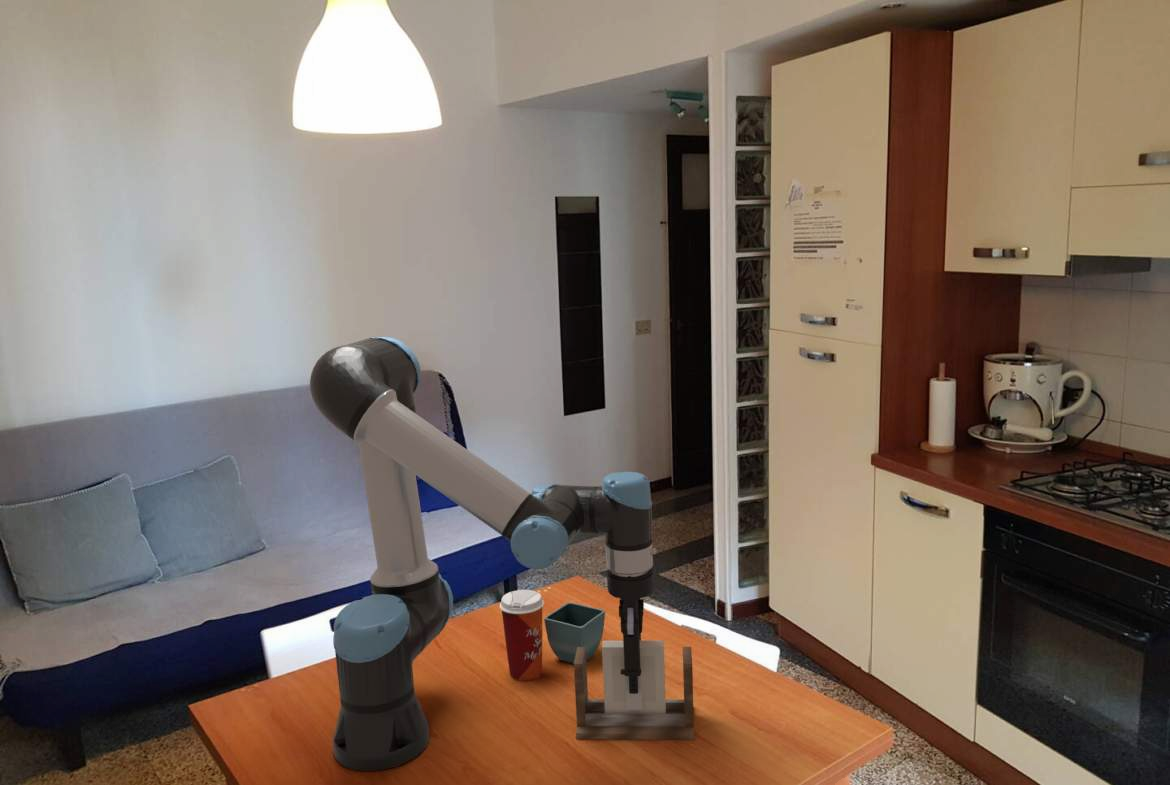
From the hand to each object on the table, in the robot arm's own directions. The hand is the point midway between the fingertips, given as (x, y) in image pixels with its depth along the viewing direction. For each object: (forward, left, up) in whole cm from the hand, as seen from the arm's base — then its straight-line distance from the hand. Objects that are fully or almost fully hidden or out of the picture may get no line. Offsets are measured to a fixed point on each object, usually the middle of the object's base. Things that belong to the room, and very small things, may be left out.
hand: (634, 703), depth 147 cm
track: (0, 0, -4) cm, 4 cm away
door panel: (0, 0, -2) cm, 2 cm away
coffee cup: (-21, +17, -4) cm, 27 cm away
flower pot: (-12, +23, -4) cm, 26 cm away
